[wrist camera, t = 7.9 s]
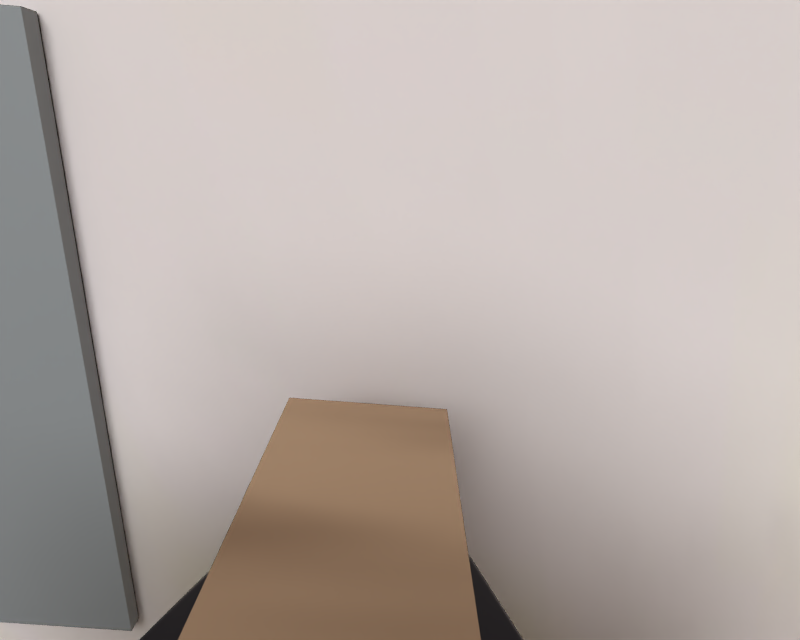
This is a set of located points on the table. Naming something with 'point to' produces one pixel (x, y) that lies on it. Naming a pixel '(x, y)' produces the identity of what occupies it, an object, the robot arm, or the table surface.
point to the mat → (49, 377)
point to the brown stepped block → (345, 533)
